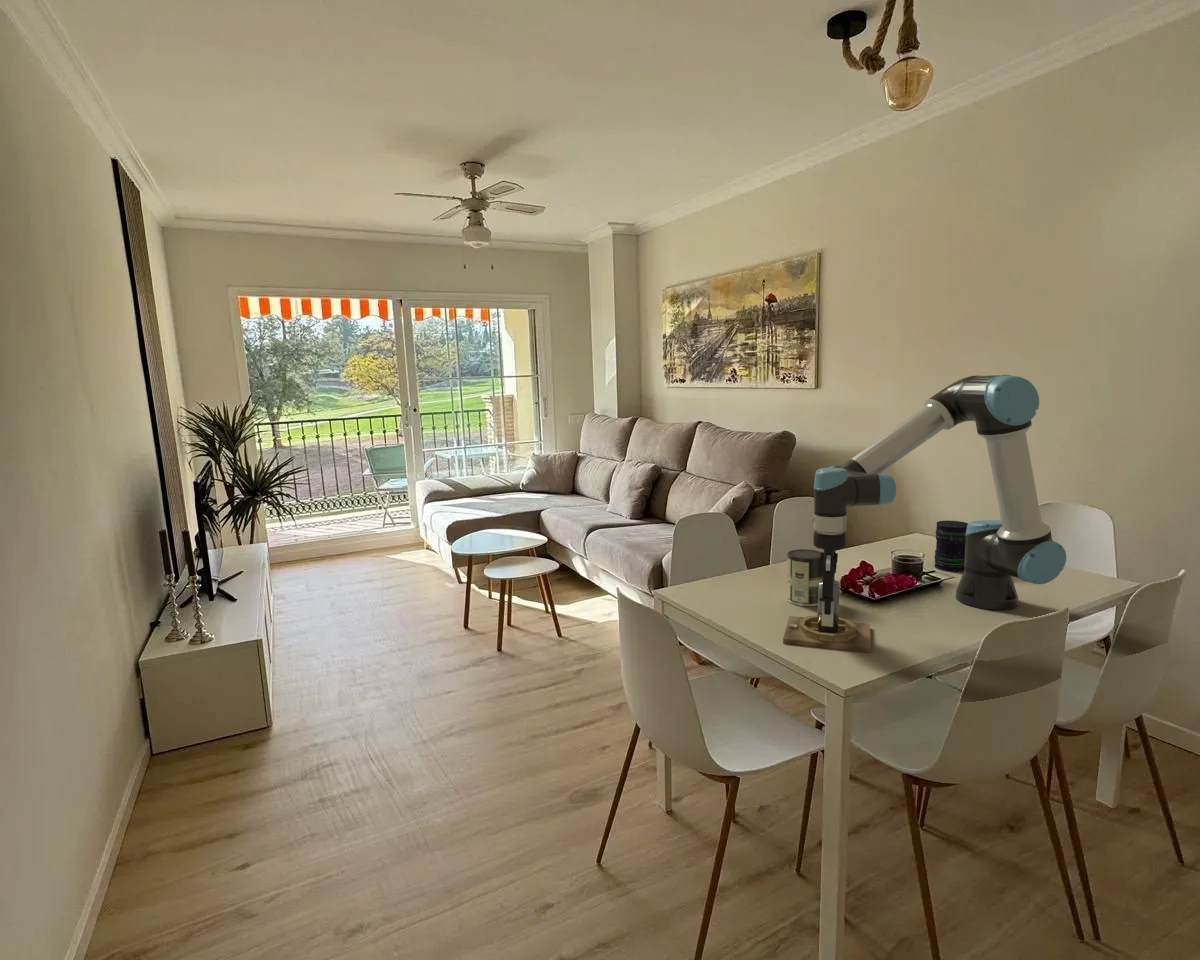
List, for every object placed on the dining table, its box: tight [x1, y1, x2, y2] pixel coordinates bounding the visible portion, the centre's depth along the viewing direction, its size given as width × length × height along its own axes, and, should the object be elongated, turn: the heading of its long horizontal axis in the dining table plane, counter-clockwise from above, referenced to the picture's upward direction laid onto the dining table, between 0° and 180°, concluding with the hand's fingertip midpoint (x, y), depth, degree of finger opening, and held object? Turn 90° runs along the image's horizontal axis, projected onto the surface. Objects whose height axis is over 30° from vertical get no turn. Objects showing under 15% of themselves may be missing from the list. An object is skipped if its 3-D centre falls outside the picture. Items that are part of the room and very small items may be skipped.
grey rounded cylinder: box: [811, 580, 845, 632], centre depth 163 cm, size 5×8×12 cm, turn 69°
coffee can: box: [786, 548, 823, 607], centre depth 189 cm, size 10×10×14 cm
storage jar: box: [933, 520, 969, 573], centre depth 215 cm, size 10×10×15 cm
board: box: [782, 614, 872, 654], centre depth 164 cm, size 20×16×3 cm
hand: (827, 621), depth 164 cm, fingers closed on grey rounded cylinder, 5 cm apart
